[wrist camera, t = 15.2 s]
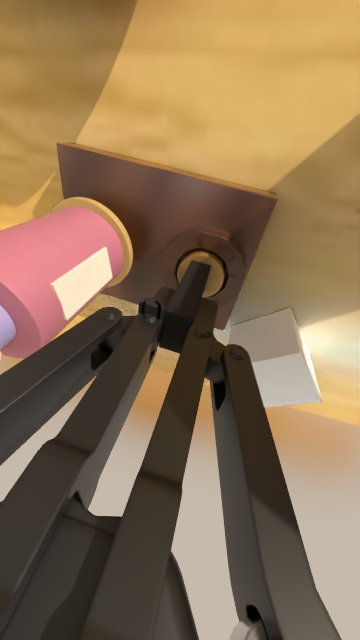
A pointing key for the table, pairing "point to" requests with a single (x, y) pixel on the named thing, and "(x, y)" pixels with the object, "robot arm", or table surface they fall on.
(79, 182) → the brown wooden base
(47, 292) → the doll
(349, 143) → the table surface
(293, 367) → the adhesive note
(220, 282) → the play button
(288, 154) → the table surface
